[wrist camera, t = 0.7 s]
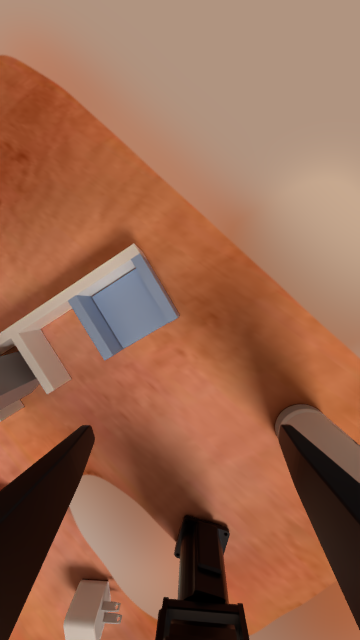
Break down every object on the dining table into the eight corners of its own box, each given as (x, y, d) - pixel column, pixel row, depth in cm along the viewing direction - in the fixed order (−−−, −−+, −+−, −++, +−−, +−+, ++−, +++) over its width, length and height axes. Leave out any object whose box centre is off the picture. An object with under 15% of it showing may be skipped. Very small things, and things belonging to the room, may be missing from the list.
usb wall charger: (81, 576, 27) (62, 623, 23) (124, 579, 27) (112, 627, 23) (85, 598, 28) (66, 647, 24) (127, 601, 27) (115, 652, 23)
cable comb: (18, 410, 25) (-6, 424, 22) (-18, 356, 25) (-46, 363, 22) (180, 315, 22) (177, 317, 19) (142, 251, 22) (134, 243, 19)
